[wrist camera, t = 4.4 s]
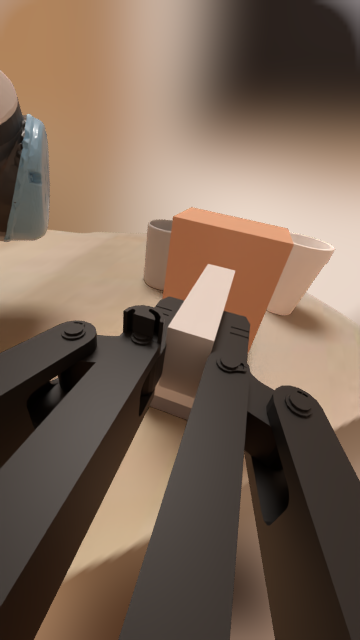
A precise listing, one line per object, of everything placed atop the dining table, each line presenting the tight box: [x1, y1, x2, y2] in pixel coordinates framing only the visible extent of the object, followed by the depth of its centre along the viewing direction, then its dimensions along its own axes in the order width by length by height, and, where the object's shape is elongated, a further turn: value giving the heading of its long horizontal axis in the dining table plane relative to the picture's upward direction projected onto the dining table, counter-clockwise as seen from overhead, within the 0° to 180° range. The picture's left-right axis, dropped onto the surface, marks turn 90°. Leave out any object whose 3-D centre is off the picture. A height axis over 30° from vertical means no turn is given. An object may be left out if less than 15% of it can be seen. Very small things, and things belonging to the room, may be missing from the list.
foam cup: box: [266, 232, 335, 315], centre depth 44 cm, size 10×9×13 cm
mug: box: [144, 220, 173, 291], centre depth 47 cm, size 12×8×11 cm
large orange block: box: [163, 207, 294, 352], centre depth 22 cm, size 6×8×16 cm
